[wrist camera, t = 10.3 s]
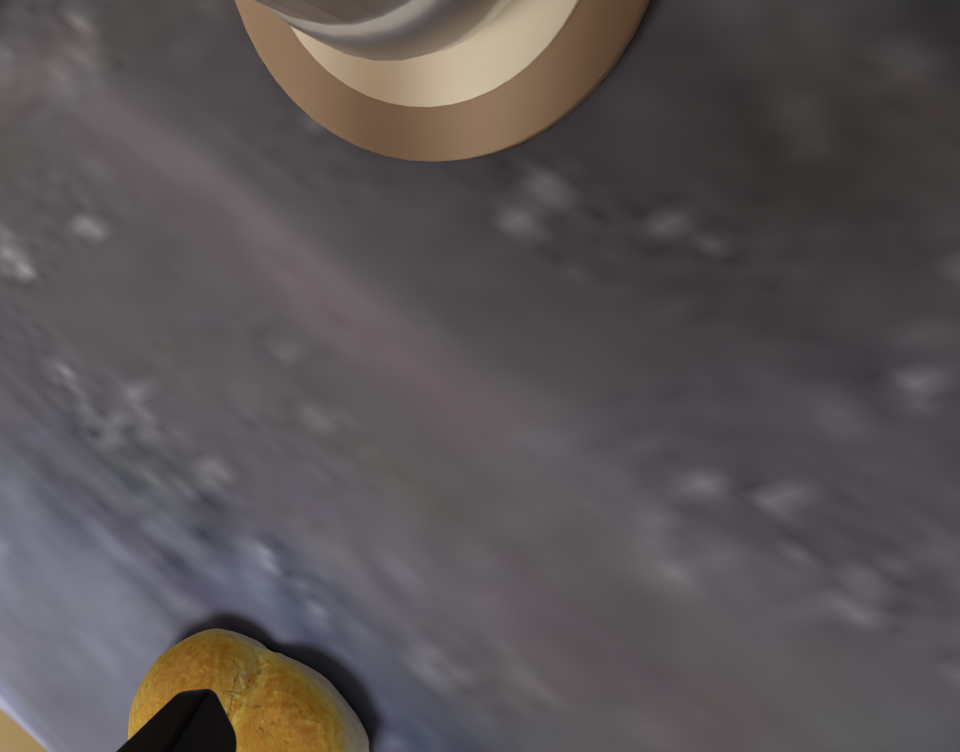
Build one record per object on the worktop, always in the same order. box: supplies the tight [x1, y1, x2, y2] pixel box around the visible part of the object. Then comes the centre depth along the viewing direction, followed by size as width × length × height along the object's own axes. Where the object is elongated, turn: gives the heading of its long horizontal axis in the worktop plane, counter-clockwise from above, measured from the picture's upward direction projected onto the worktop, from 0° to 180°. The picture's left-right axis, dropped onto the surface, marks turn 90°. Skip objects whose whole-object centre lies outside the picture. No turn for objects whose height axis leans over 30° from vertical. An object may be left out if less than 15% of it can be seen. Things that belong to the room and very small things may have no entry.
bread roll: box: [128, 628, 369, 752], centre depth 27 cm, size 8×9×4 cm
